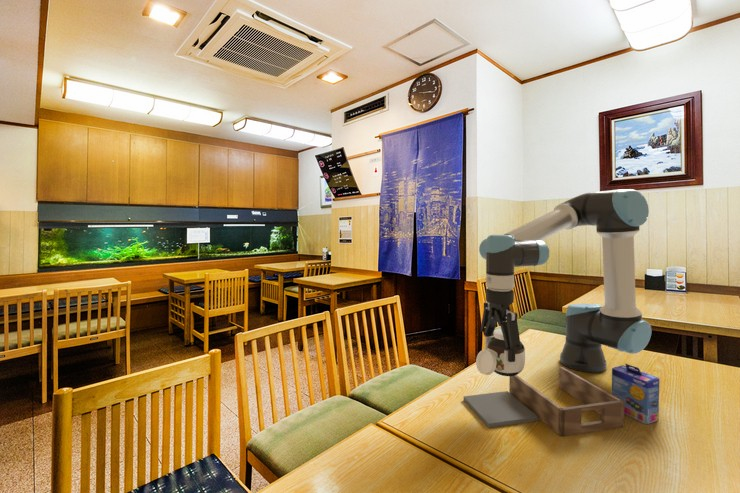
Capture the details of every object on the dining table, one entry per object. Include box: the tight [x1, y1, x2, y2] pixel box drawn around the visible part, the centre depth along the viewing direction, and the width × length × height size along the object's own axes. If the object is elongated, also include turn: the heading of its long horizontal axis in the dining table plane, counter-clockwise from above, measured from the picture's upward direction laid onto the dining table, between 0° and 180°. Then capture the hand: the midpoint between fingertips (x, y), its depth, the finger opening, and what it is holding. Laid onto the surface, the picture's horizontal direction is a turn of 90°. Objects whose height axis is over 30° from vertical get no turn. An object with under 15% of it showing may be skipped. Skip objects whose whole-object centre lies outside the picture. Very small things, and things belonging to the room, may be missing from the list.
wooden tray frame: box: [508, 366, 625, 437], centre depth 103 cm, size 23×19×7 cm
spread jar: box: [475, 328, 526, 377], centre depth 102 cm, size 12×11×12 cm
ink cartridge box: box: [611, 363, 660, 425], centre depth 100 cm, size 10×6×14 cm, turn 23°
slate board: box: [463, 390, 539, 429], centre depth 104 cm, size 15×15×1 cm
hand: (498, 364), depth 103 cm, fingers closed on spread jar, 10 cm apart
